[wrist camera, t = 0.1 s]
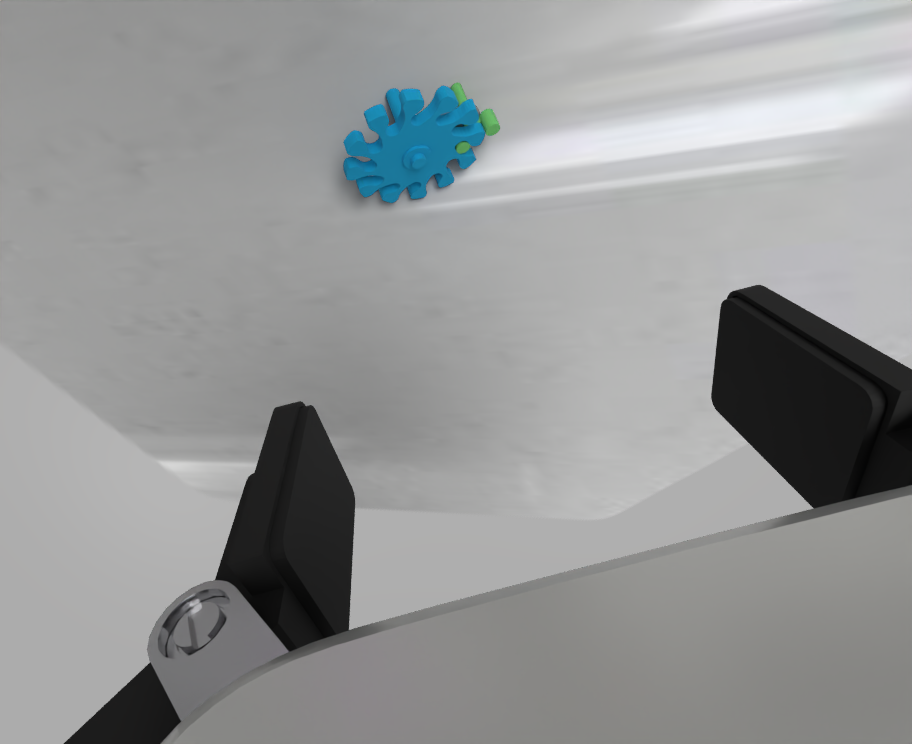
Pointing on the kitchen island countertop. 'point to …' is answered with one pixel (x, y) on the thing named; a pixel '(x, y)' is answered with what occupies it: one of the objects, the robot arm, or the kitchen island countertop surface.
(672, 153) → the kitchen island countertop surface
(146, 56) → the kitchen island countertop surface
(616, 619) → the robot arm
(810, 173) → the kitchen island countertop surface
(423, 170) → the gear
